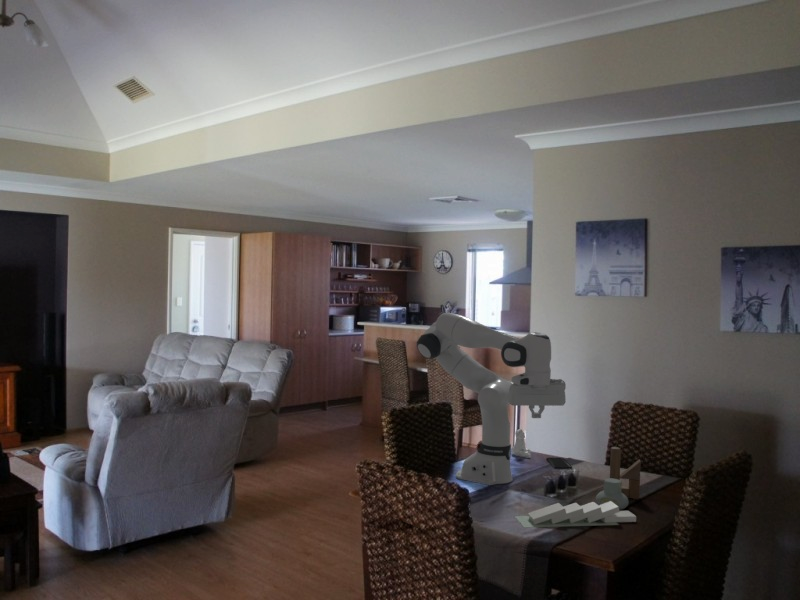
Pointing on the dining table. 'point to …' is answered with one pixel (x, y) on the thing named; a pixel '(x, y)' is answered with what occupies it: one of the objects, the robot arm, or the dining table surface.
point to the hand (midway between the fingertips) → (536, 417)
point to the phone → (559, 463)
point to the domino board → (560, 523)
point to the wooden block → (625, 474)
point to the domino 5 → (620, 517)
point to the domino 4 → (604, 511)
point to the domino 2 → (568, 513)
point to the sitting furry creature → (520, 445)
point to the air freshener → (612, 493)
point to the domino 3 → (587, 512)
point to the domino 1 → (547, 513)
